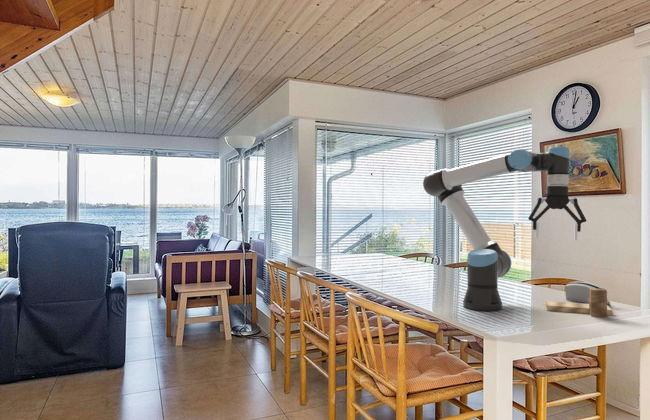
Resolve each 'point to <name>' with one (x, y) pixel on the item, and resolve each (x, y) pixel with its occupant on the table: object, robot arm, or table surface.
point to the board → (570, 307)
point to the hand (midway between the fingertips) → (555, 239)
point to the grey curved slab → (580, 291)
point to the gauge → (597, 302)
